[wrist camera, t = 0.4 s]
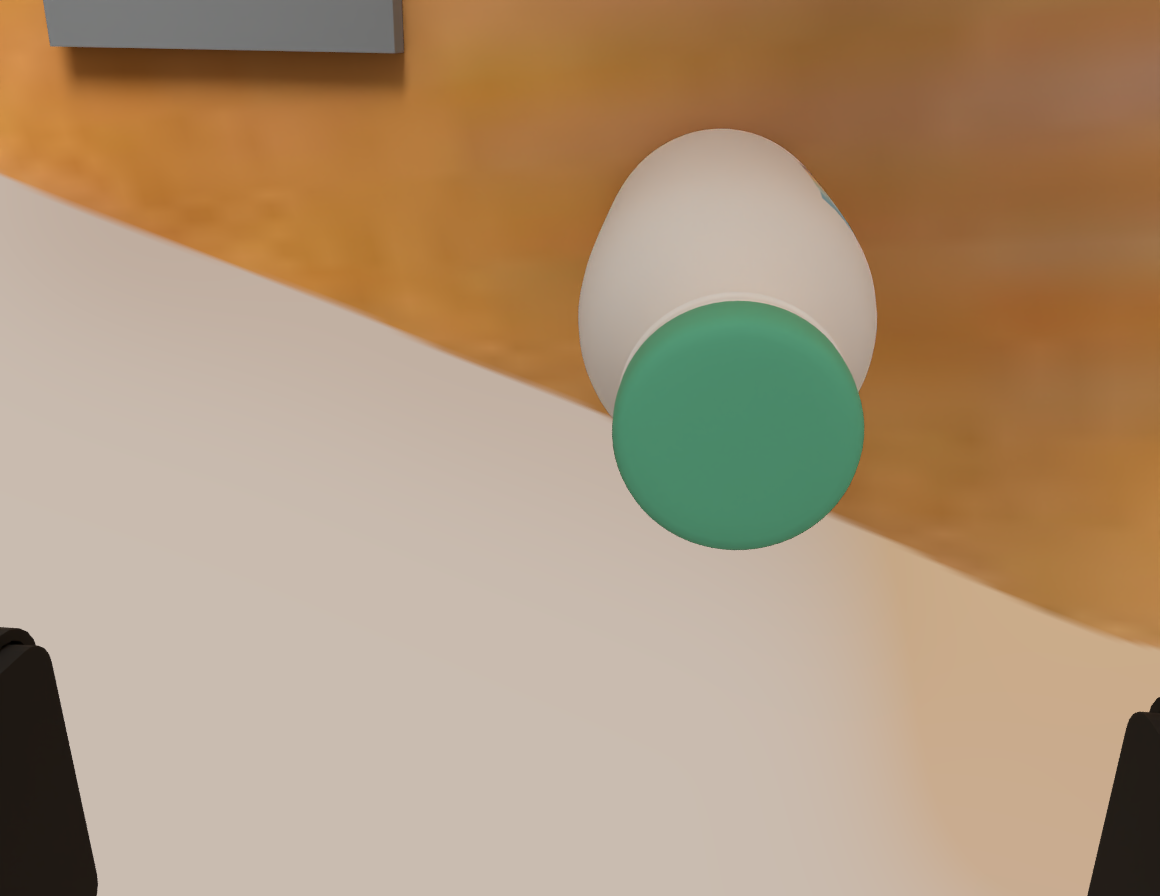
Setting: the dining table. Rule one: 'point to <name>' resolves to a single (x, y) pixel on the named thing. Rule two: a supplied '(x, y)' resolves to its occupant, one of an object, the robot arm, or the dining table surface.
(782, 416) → the milk bottle
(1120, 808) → the robot arm
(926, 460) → the dining table surface
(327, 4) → the mat
